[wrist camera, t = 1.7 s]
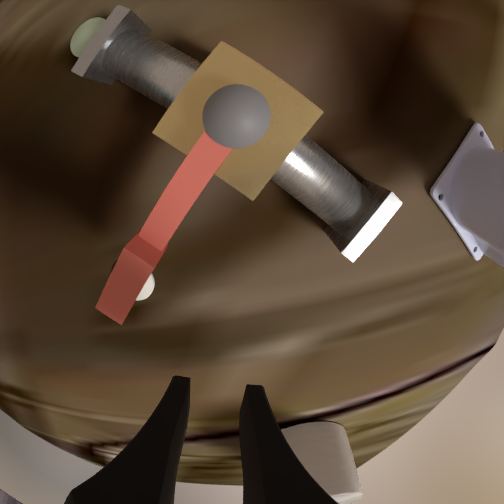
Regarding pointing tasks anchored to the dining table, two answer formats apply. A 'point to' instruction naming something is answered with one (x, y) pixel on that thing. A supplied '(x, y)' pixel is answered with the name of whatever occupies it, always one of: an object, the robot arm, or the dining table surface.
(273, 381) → the dining table surface
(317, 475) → the toilet tissue
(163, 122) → the valve body
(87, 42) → the pale green round disc
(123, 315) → the lever
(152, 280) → the white flattened pebble
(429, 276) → the dining table surface
